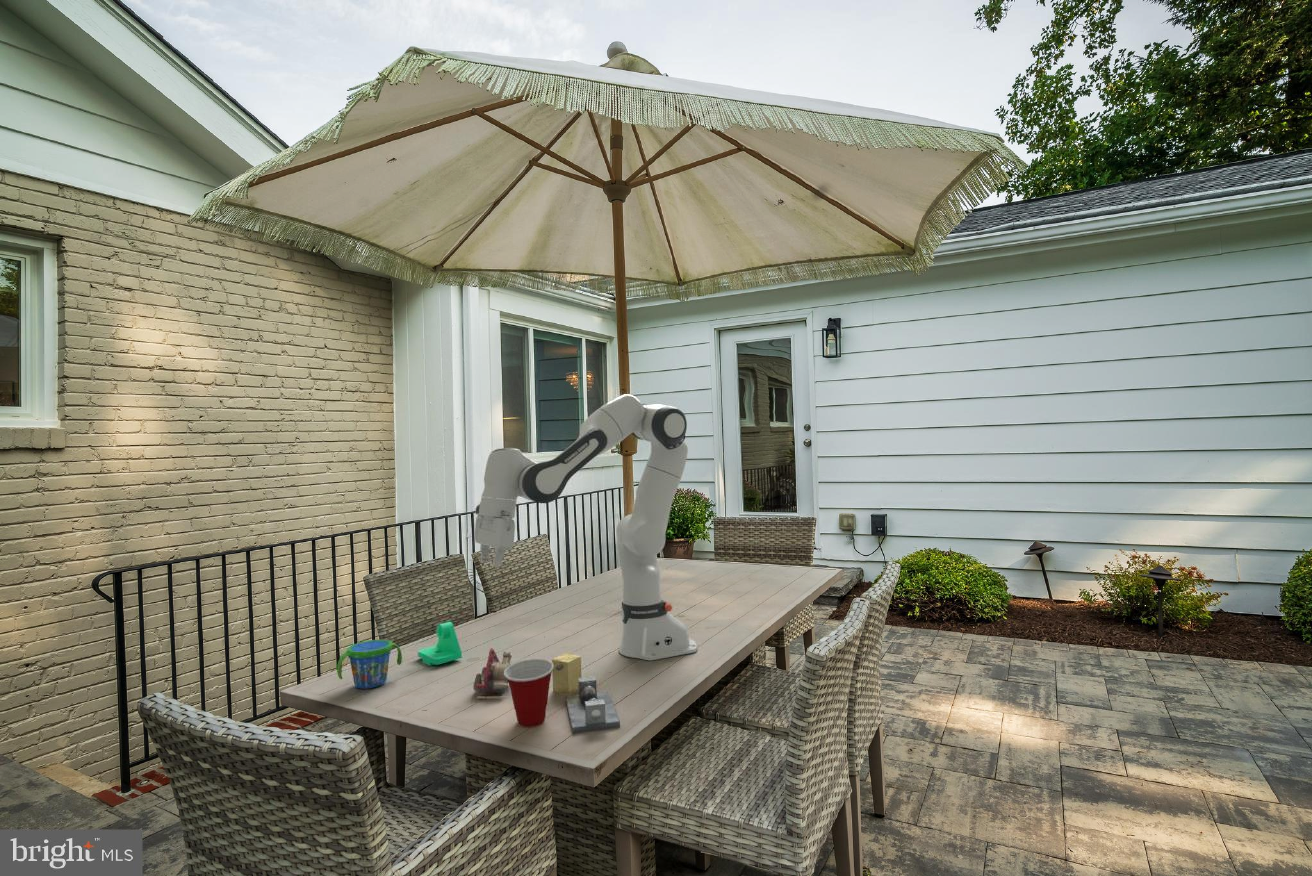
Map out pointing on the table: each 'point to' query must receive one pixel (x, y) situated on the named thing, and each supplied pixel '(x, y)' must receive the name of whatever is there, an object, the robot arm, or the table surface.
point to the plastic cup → (529, 689)
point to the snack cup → (369, 662)
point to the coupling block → (566, 673)
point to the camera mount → (442, 647)
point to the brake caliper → (493, 676)
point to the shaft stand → (591, 708)
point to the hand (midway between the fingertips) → (490, 564)
